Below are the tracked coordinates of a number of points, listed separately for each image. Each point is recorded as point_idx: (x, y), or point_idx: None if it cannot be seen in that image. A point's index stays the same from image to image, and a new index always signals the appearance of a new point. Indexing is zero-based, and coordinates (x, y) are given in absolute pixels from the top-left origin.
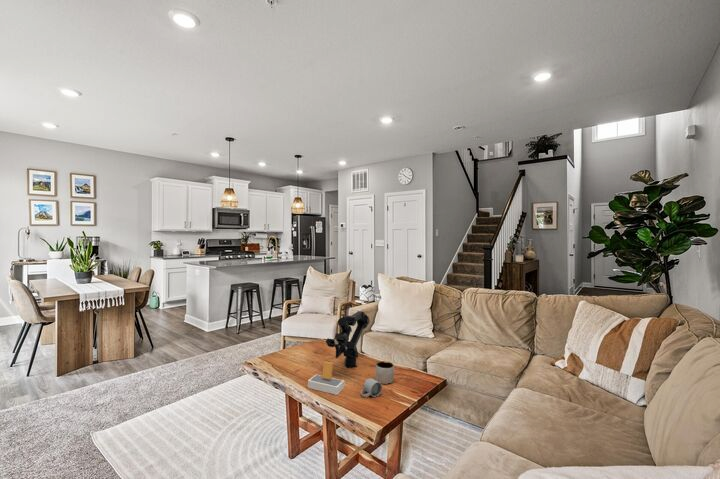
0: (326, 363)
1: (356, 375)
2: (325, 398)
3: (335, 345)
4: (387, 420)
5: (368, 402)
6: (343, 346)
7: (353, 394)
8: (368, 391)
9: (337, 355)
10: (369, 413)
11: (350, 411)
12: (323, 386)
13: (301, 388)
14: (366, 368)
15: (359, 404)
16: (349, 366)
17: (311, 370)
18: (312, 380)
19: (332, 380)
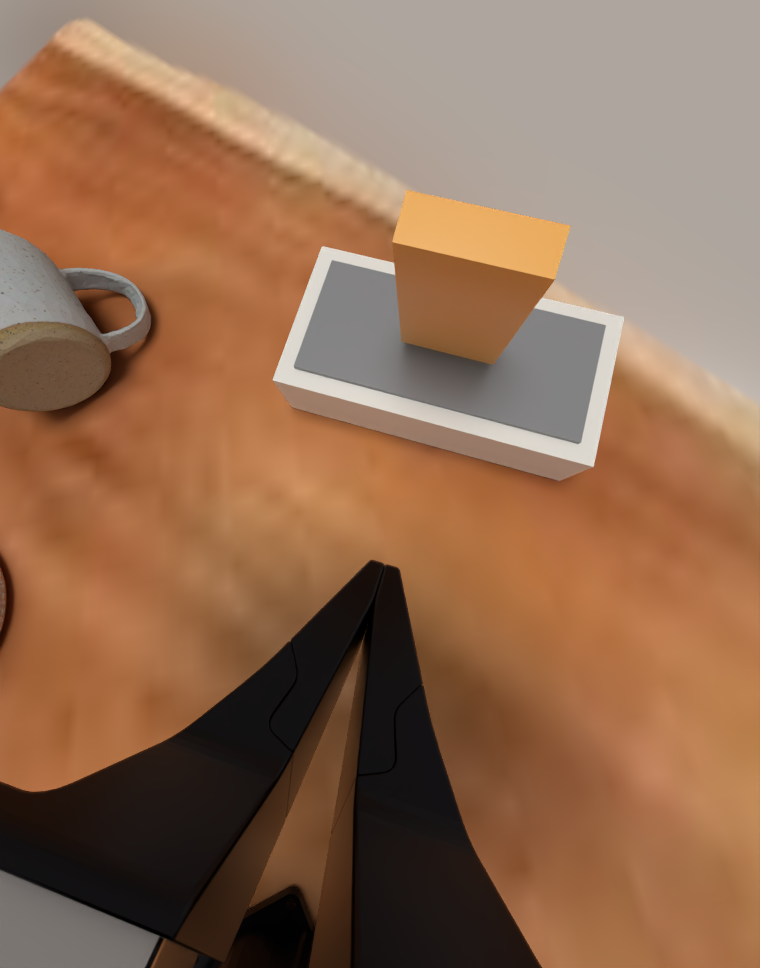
0: (508, 227)
1: (191, 684)
2: None
3: (509, 957)
4: (15, 88)
5: (107, 239)
6: (3, 792)
7: (211, 321)
8: (70, 287)
9: (359, 584)
10: (110, 129)
11: (224, 127)
12: None
13: (632, 336)
14: None
15: (168, 206)
16: (272, 919)
17: (687, 728)
18: (581, 320)
19: (386, 350)
